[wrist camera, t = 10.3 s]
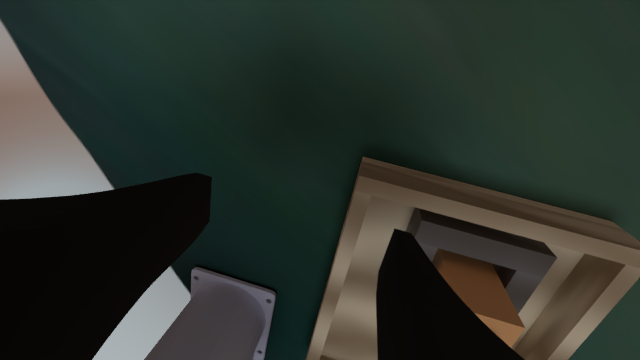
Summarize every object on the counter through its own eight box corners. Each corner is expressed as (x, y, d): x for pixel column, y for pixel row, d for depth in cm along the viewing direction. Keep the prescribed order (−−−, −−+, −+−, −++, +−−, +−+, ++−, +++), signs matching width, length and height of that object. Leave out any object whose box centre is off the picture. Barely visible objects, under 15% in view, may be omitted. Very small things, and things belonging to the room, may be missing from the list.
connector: (466, 290, 21) (502, 394, 15) (419, 276, 22) (435, 372, 15) (486, 253, 20) (536, 350, 13) (436, 239, 20) (461, 327, 14)
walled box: (476, 402, 27) (489, 449, 24) (308, 347, 28) (299, 384, 25) (611, 221, 18) (658, 255, 15) (362, 156, 20) (359, 175, 17)
